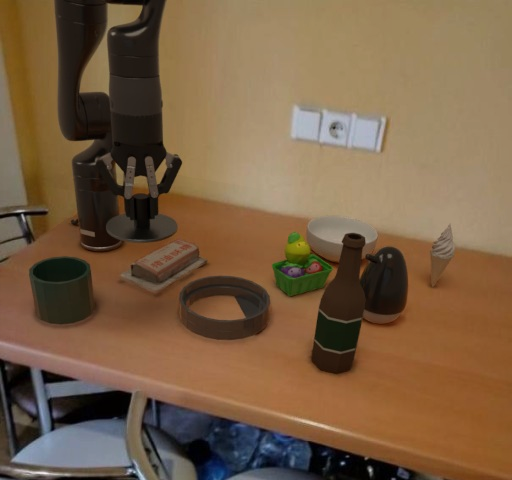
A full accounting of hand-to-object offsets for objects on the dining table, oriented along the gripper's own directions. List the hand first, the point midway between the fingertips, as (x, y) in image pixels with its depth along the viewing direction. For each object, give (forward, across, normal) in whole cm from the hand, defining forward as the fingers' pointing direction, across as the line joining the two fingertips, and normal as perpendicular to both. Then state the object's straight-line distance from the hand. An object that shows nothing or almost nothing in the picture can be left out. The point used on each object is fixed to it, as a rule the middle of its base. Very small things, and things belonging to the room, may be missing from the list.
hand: (141, 217), depth 92 cm
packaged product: (+22, -7, -21) cm, 31 cm away
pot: (+22, +14, -9) cm, 27 cm away
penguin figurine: (+22, -45, +5) cm, 50 cm away
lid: (+2, 0, 0) cm, 2 cm away
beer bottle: (+22, -30, +17) cm, 41 cm away
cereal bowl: (+22, -49, -22) cm, 58 cm away
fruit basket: (+22, -34, -10) cm, 42 cm away
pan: (+22, -15, -1) cm, 26 cm away
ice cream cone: (+22, -64, -4) cm, 68 cm away
